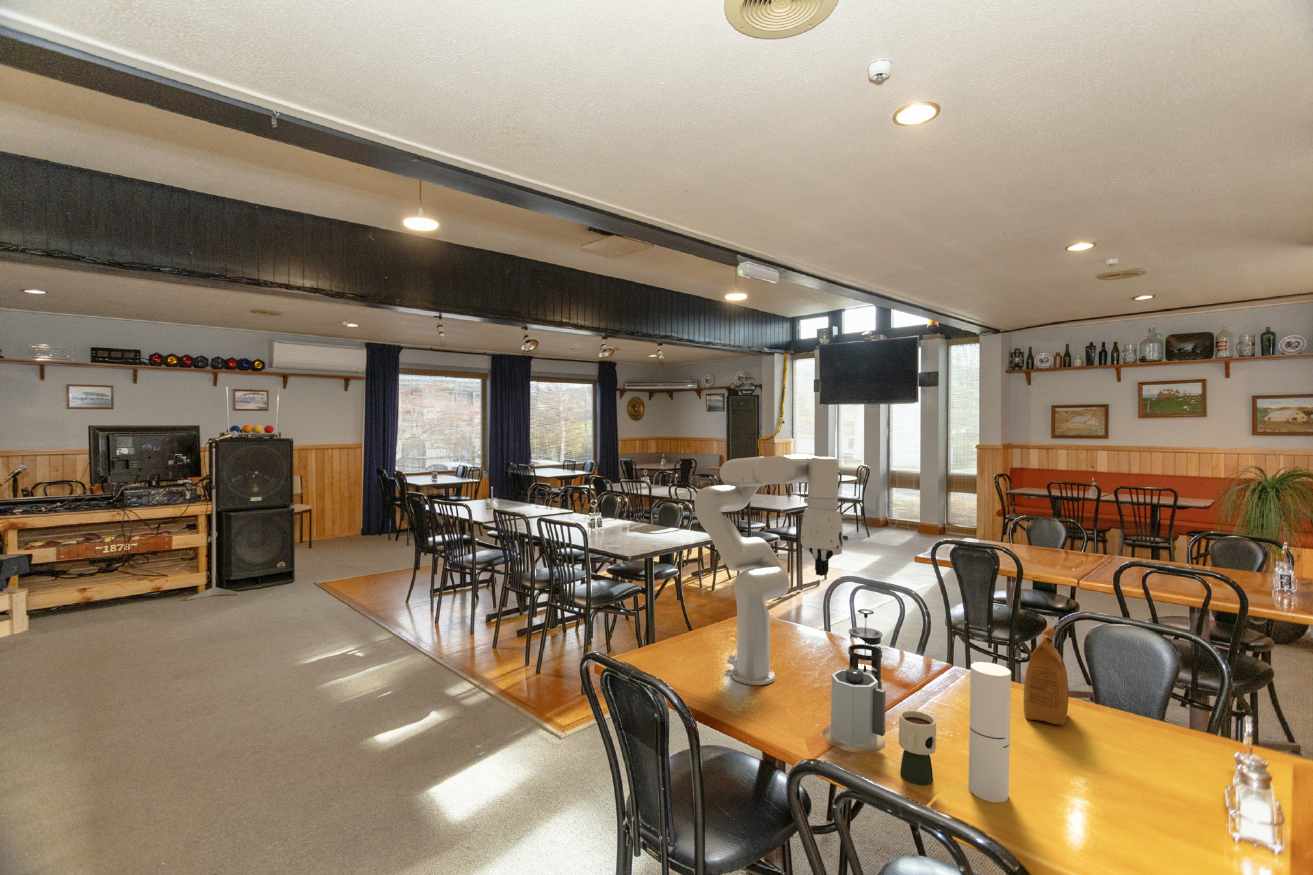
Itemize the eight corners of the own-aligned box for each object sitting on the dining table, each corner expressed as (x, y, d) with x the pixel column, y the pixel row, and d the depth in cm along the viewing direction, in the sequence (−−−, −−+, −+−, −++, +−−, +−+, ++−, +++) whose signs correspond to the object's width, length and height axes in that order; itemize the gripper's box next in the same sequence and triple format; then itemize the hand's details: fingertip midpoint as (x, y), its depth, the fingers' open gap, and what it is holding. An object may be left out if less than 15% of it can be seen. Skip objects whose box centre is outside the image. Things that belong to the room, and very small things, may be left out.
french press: (867, 703, 164) (869, 617, 163) (838, 691, 171) (839, 609, 171) (893, 693, 171) (894, 610, 170) (863, 681, 178) (864, 602, 178)
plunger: (832, 724, 144) (833, 671, 144) (847, 714, 149) (847, 663, 149) (860, 735, 140) (861, 680, 139) (874, 724, 145) (875, 672, 144)
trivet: (811, 739, 144) (811, 736, 144) (840, 719, 154) (840, 717, 154) (868, 762, 135) (868, 759, 135) (895, 739, 145) (895, 737, 145)
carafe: (824, 736, 144) (825, 677, 144) (844, 722, 151) (845, 666, 151) (873, 756, 136) (874, 693, 136) (892, 740, 143) (893, 680, 143)
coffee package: (1072, 713, 159) (1074, 629, 159) (1065, 731, 150) (1067, 641, 149) (1028, 702, 166) (1029, 621, 165) (1019, 718, 156) (1020, 632, 156)
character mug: (928, 797, 122) (929, 732, 122) (891, 785, 126) (892, 722, 126) (940, 773, 131) (942, 712, 130) (905, 762, 135) (906, 703, 135)
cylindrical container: (961, 782, 127) (963, 662, 127) (993, 780, 128) (996, 661, 128) (982, 803, 120) (984, 676, 120) (1016, 801, 121) (1019, 675, 121)
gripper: (790, 502, 163) (788, 571, 163) (842, 508, 152) (841, 582, 152) (805, 500, 168) (803, 567, 168) (856, 505, 157) (855, 577, 158)
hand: (821, 574), depth 160 cm, fingers closed
